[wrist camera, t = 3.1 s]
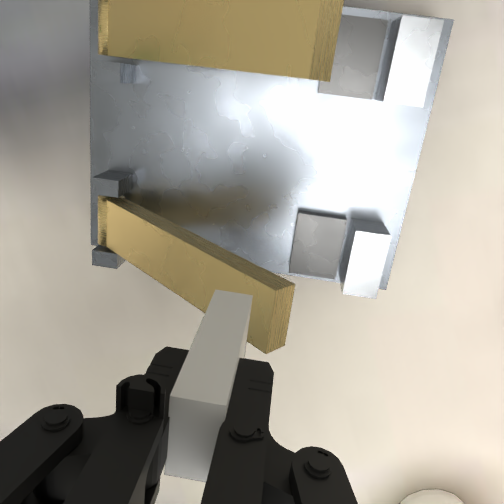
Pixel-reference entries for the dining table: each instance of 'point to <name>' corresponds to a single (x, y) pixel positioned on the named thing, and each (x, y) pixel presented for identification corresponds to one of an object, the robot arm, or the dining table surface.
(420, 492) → the foam cup
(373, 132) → the base
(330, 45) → the latch bar front
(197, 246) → the bar
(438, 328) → the dining table surface
